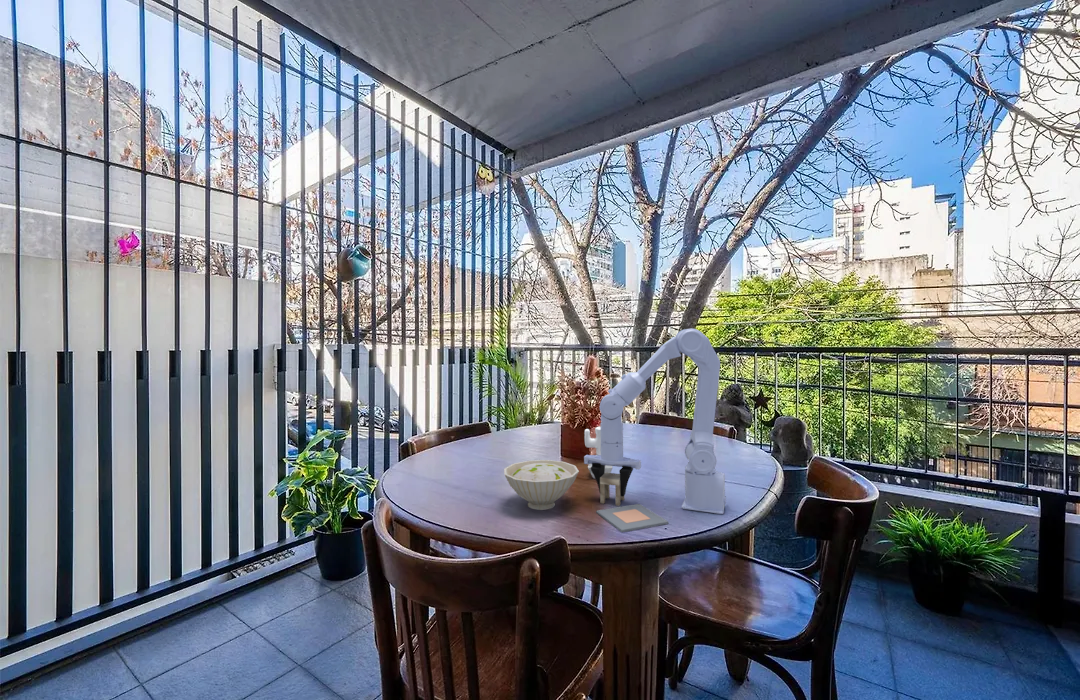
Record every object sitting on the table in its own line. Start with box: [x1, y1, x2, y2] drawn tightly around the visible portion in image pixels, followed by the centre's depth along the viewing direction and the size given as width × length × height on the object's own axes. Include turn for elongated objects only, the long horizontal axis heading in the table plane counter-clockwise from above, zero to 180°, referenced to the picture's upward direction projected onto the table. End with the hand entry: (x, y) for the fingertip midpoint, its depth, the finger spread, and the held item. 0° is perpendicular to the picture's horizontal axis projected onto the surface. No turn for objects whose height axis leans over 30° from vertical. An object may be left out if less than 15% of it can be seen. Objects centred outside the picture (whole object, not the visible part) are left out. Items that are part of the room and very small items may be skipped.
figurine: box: [584, 426, 614, 480], centre depth 139 cm, size 7×9×15 cm
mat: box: [596, 503, 669, 533], centre depth 107 cm, size 12×12×1 cm
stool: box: [599, 472, 626, 507], centre depth 118 cm, size 5×5×6 cm
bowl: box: [503, 459, 580, 511], centre depth 116 cm, size 19×19×10 cm
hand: (612, 493), depth 118 cm, fingers closed on stool, 5 cm apart
